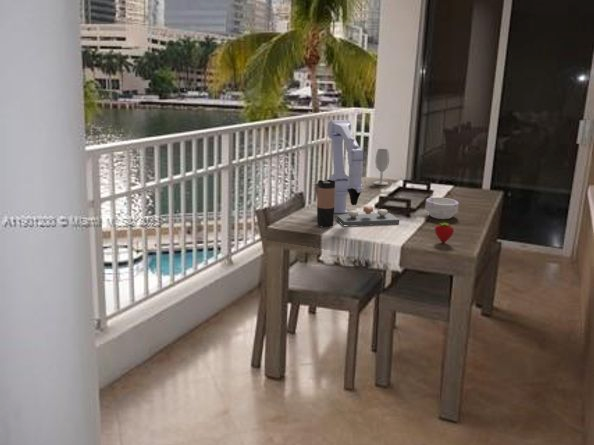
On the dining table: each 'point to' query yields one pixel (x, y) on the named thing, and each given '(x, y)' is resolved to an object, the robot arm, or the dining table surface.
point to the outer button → (382, 212)
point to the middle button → (368, 210)
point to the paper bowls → (441, 207)
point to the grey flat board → (367, 219)
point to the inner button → (353, 213)
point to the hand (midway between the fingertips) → (353, 204)
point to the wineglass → (382, 164)
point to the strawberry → (444, 231)
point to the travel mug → (325, 203)
